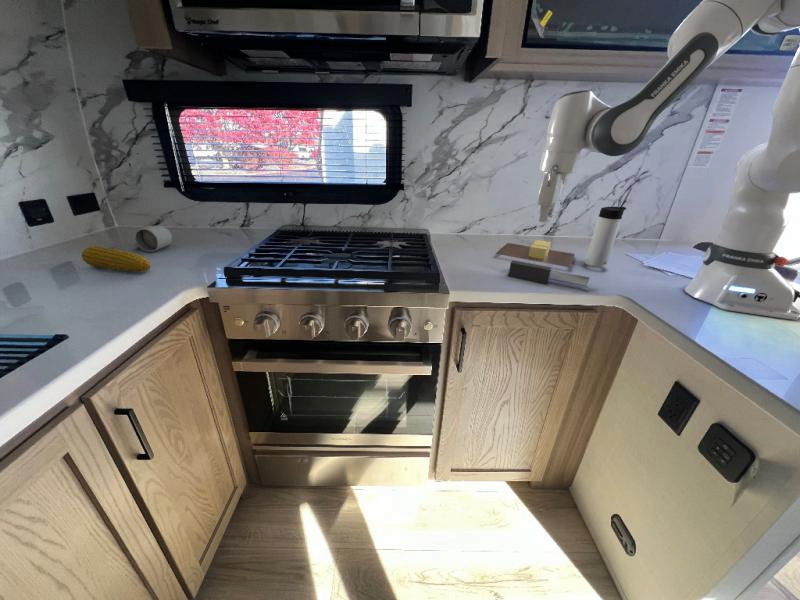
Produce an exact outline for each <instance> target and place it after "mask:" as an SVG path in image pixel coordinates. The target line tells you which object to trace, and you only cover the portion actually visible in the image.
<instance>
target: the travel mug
mask: <svg viewBox="0 0 800 600" xmlns="http://www.w3.org/2000/svg"><path fill="white" fill-rule="evenodd" d="M626 210H627V207H625V206H603V207H601V208H600V211H599V214H598V217H597V220H596V224H595V227H594V230H593V234H592V237H591V240H590V243H589V247H588V250H587V254H586V257H585V261H584V263H585V264H586V265H588V266H590V267H595V268H602V271H603V272H604V271H605V270H606V268H607V265H608V262H609V260H610V256H611V253H612V250H613V247H614V245H615V244H614V243H615V240H616V237H617V235H618V231H619V228H620V225H621V222H622V218H623V215H624V211H626Z"/></svg>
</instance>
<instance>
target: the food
mask: <svg viewBox="0 0 800 600" xmlns="http://www.w3.org/2000/svg"><path fill="white" fill-rule="evenodd" d="M81 258H82V260H83V262H84V263H85V264H87V265H88V266H89V265H90V266H93V267H97V268H103V269H110V270H115V271H125V272H131V273H132V272H135V273H141V272H146V271H149V270H150V269H151V264H150V263H151V262H150V261H149V260H148V259H147V258H146V257H145V256H143V255H142V256H141V255H140V254H137V253H135V252H129V251H124V250H119V249H113V248H108V247H107V248H106V247H101V246H88V247H86V248H85V249H84V250H83V251H82V252H81Z"/></svg>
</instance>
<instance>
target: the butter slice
mask: <svg viewBox="0 0 800 600" xmlns="http://www.w3.org/2000/svg"><path fill="white" fill-rule="evenodd" d="M546 252H547V247H543V246H537V245H533V244H531V246H530V252H529V257H534V258H540V259H544V258H545V256H546Z"/></svg>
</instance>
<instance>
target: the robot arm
mask: <svg viewBox="0 0 800 600" xmlns="http://www.w3.org/2000/svg"><path fill="white" fill-rule="evenodd" d="M794 29H798V30H799V32H800V0H702V1H701V2H700V3H699V4H698V5H697V6H695V8H694V9H693V10H692V11H691V12H690V13H689V14H688V15H687V16H686V17H685V18H684V19H683V21H682V22H681V23H680V25H679V26H678V27H677V28H676V29H675V31H674V32H673V33H672V35H671V36H670V37H669V39H668V42H667V48H666V49H667V52H666V53H667V57H668V59H667V60H666V63H665V64H664V65H663V66H662V67H661V68H660V69H659V70H658V72H656V73H655V75H654V76H652V78H650V80H649V81H647V83H646V84H645V85H644V86H643V87H642V88H641V89H640V90H638V92H636V94H635V95H634V96H632V97H631V98H630V99H628V100H626V101H624V102H623V103H620V104H618V105H616V106H611V105H609V104H607V103H605V102H603V101H602V100H601V99H599V98H598V97H597V96H596V95H595V94H594V92H593V91H592V90H585V89H584V90H576V91H572V92H568V93H566V94H563V95H562V96H560V97H559V98H558V99H557V100H556V101H555V103H554V105H553V108H552V111H551V115H550V118H549V121H548V124H547V125H548V126H547V131H546V143H545V145H544V147H543V149H542V153H541V156H540V157H541V158H540V163H539V167H538V171H539V172H543V173H542V180H541V183H540V186H539V187H540V188H539V192H538V196H537V200H536V204H537V205H538V206H540V209H539V218H538V222H540V223H546V222H547V221H548V218H549V217H551V216H552V215H553V212H554V209H555V206H556V204H557V201H559V200H560V199H561V198H562V196H563V194H564V191H565V188H566V186H567V183H568V180H569V178H570V175H571V174H576V172H577V167H578V164H579V160H580V156H581V153H582V150H584V149H585V150H588V151H589V152H591V153H597V154H603V155H605V156H609V157H620V156H624V155H626V154H628V153H630V152H632V151H634V150H635V149H637V147H639V145H640V144H641V143H642V142H643V140H644V139H645V137H646V136H647V134H648V132H649V131H650V129H651V127H652V125H653V124H654V122H655V121H656V120H657V118H658V117H659V115H661V113H662V112H663V111H665V109H666V108H668V106H669V105H671V103H672V102H674V100H675V99H677V97H679V95H681V94H682V93H683V92H684V91H685V89H687V88H688V87H689V86H690V85H691V84H692V82H694V80H696V78H697V77H699V76H700V74H702V72H703V71H705V70H706V69H707V68H708V67H709V66H711V65H712V64H713V63H714V62H715V61H717V60H718V59H719V58H720V57H721V56H722V55H724V54H725V53H726V52H727V51H729V49H730V48H732V46H734V45H735V44H736V43H738V42H739V40H740V39H741V38H742V37H744V36H745V35H746V34H747V33H748V32H749V31H750V32H751V33H753V34H755V35H758V36H765V37H766V36H775V35H780V34H783V33H785V32H787V31H791V30H794ZM771 115H772V123H771V129H770V135H769V140H768V141H766V142H764V143H761V144H759V145H756V146H754V147H753V148H751V149H749V150H748V151H746V152H744V153H743V155H741V157H740V158H739V159H738V161H737V163H736V166H735V178H734V182H733V186H732V190H731V194H730V199H729V203H728V207H727V210H726V214H725V216H724V218H723V221H722V223H721V225H720V227H719V229H718V232H717V234H716V236H715V238H714V241H711V243H710V245H709V246H708V248H707V249H706V251H705V254H704V256H703V259H702V264H701V266H700V268H699V269H698V270H697V272H696V274H695V275H694V277H693V278H692V279H691V281H689V283H688V284H687V285H686V286H685V287H684V292H685V293H687V294H688V295H689V296H692V297H693V298H696V299H697V300H700V301H703V302H705V303H709V304H711V305H713V306H714V307H717V308H720V309H721V310H724V311H729V312H730V311H731V312H738V313H742V314H743V313H744V314H751V315H756V316H757V315H758V316H764V317H772V318H778V319H785V320H792V321H798V320H799V319H800V310H799V309H798V308H797V307H795V306H794V305H793V303H796V301H797V299H800V291H798V290H797V289H795V288H794V287H793V286H792V285H791V284H790V282H788V280H786V278H784V276H783V275H782V274H780V272H779V271H777V270H776V268H775V267H776V266H778V267H779V268H781V267H785V266H788V264H789V260H788V259H787V258H785V257H784V256H780V255H778V254H777V253H775V252H773V251H774V249H775V248H776V246H777V244H778V243H779V240H780V238H781V237H782V235H783V233H784V231H785V229H786V227H787V225H788V224H789V221H790V215H789V207H790V206H789V205H790V201H791V197H792V194H800V44H799V45H798V49H797V50H796V53H795V55H794V57H793V58H792V61H791V64H790V66H789V68H788V69H787V72H786V75H785V77H784V80H783V82H782V84H781V87H780V89H779V92H778V95H777V96H776V98H775V101H774V104H773V106H772V109H771Z"/></svg>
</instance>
